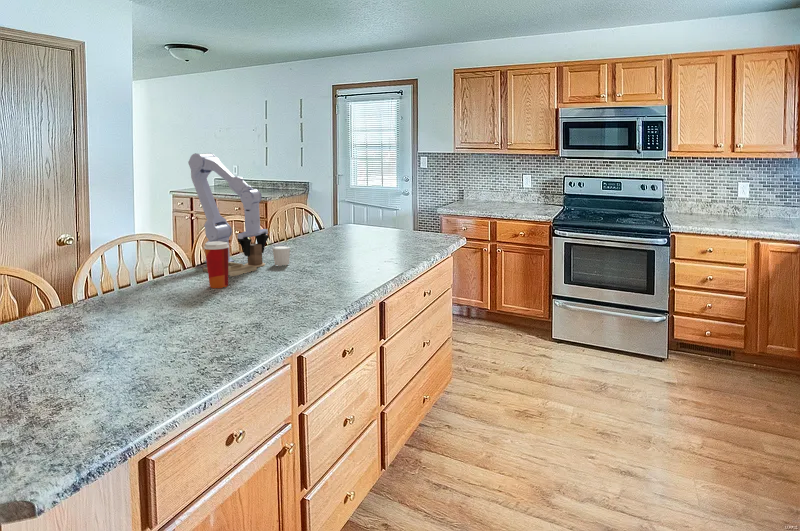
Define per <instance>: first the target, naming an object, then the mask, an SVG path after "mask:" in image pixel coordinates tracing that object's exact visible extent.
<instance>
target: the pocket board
mask: <svg viewBox="0 0 800 531" xmlns="http://www.w3.org/2000/svg"><path fill="white" fill-rule="evenodd" d="M257 270H258V267H253V266H246V265H244V264H243V263H239V262H235V261H233V262H228V275H230V277H236V276H240V275H243V273H244V274H247V272H248V273H251V271H252V272H255V271H257ZM202 271H203V272H205V273H208V269H207V266H206V267H203V268H202Z"/></svg>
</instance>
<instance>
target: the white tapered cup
mask: <svg viewBox="0 0 800 531" xmlns="http://www.w3.org/2000/svg"><path fill="white" fill-rule="evenodd" d="M272 253H273V260H274V266H276V265H278V266H277V267H283V266H282V265H285V266H289V265H290V253H291V247H290V246H286V245H280V246H279V245H277V246H273V247H272ZM288 264H289V265H288Z"/></svg>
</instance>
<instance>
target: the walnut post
mask: <svg viewBox="0 0 800 531" xmlns="http://www.w3.org/2000/svg"><path fill="white" fill-rule="evenodd" d="M247 263H248V265H253V266H257V265H261V264H263V263H264V262H263V253H262V244H257V243H251V244H250V256H247Z"/></svg>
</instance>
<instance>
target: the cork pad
mask: <svg viewBox="0 0 800 531" xmlns="http://www.w3.org/2000/svg"><path fill="white" fill-rule="evenodd" d="M243 265H246V266H253V265H248V262H247V263H245V264H243ZM261 266H262V267H264V266H266V263H265V262H263V264H261V265H257V266H253V267H257V268H261Z"/></svg>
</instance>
